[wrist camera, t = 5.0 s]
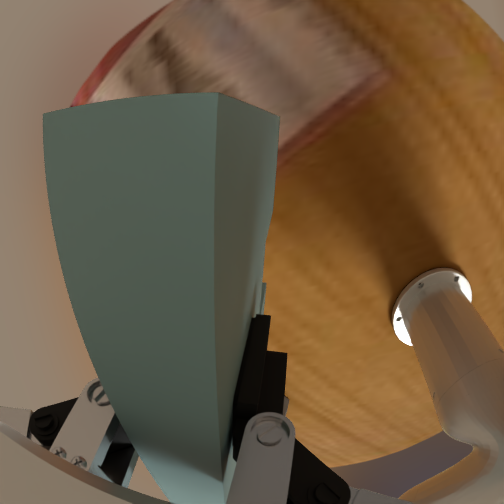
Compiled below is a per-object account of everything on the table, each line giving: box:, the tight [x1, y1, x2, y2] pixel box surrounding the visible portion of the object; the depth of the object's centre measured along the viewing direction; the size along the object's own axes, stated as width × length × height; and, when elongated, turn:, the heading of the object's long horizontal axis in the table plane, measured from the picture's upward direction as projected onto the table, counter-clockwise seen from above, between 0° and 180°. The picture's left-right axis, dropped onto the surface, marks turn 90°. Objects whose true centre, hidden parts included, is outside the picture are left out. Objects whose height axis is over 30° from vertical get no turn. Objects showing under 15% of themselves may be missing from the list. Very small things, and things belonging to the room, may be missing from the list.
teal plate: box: [43, 93, 280, 504], centre depth 12 cm, size 16×2×14 cm, turn 176°
